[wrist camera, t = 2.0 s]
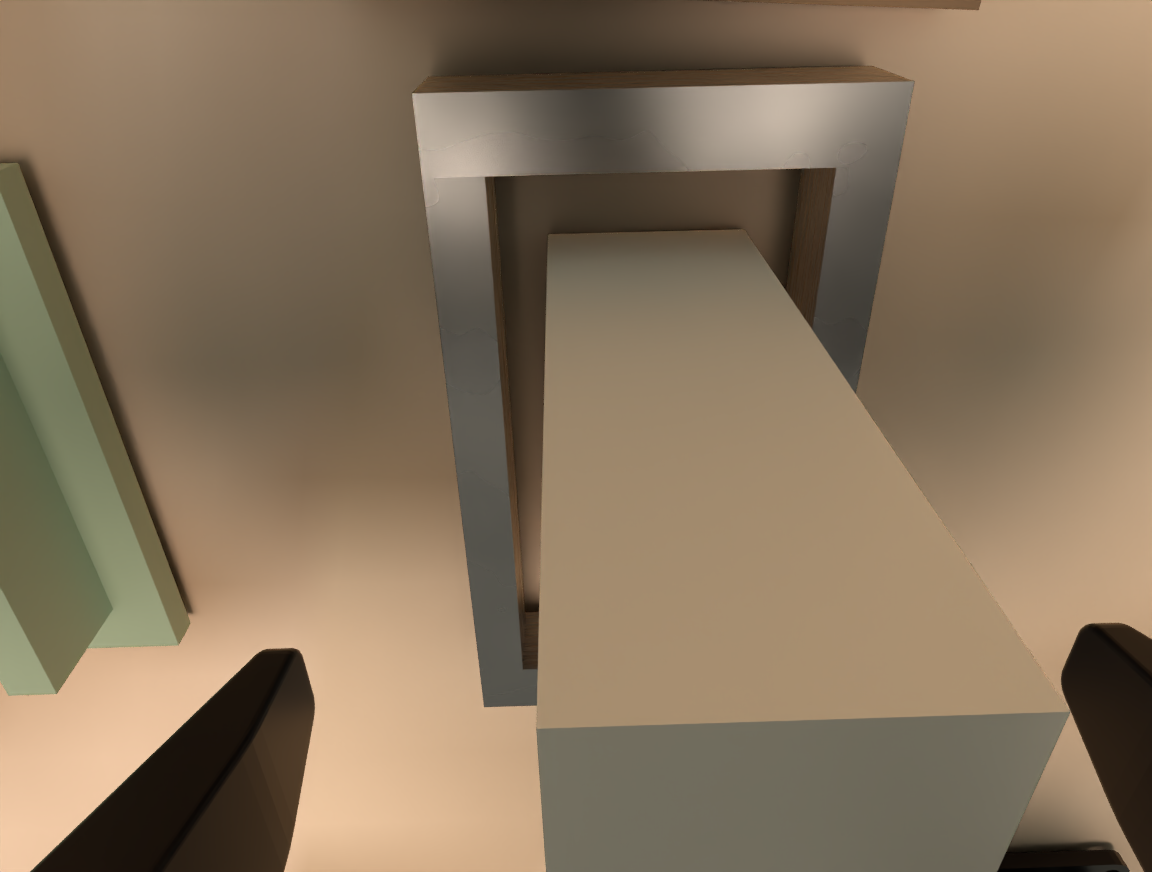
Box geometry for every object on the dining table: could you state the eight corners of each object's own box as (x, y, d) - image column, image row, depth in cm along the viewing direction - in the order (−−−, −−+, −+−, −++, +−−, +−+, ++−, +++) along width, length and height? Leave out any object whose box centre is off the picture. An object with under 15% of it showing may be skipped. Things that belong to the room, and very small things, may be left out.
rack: (872, 65, 11) (914, 81, 10) (780, 639, 17) (798, 696, 15) (428, 76, 11) (412, 93, 10) (489, 649, 17) (483, 707, 15)
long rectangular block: (744, 229, 12) (1068, 711, 4) (713, 557, 16) (868, 1150, 8) (547, 234, 12) (536, 727, 4) (560, 561, 16) (565, 1162, 8)
